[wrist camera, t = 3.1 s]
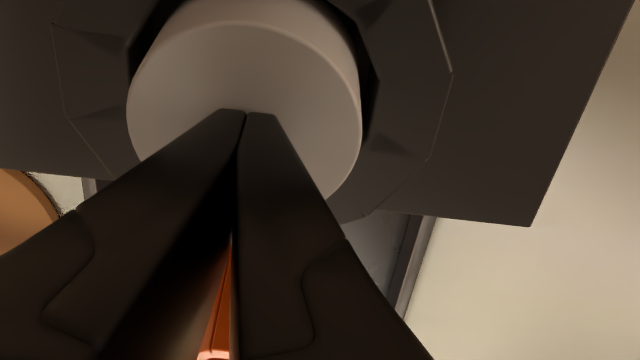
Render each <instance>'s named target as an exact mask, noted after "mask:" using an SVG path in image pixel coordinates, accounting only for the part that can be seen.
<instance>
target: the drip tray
mask: <svg viewBox="0 0 640 360" xmlns="http://www.w3.org/2000/svg"><path fill="white" fill-rule="evenodd" d="M81 179H82V186H83V193H84V199H85V200H87V199H88V198H90V197H91V196H93V195H94V194H96V193H97V192H98V191H100V190H101V189H103V188H104V187H106V186H107V185H109V184H110V183H112V182H113V181H109V180H100V179H91V178H82V177H81ZM436 218H437V217H432V216H423V215H414V214H405V213H396V212H387V211H378V210H374V211H373V212H372V213H371V214H370V215H368V216H365V217H364V218H362V219H359V220H355V221H352V222H349V223H345V224H342V225H340V227H341V229H342V230H343V232H344V234H345V235H346V239H347V240H349V242H350V244H351V245H352V247H353V249H354V251H355V252H356V254H357V256H358V258H359V259H360V261H361V262H362V264H363V265H364V267H365V269H366V270H367V272H368V273H369V275H370V276H371V278H372V279H373V281H374V282H375V284H376V285H377V286H378V288H379V289H380V291H381V292H382V293H383V295H384V296H385V297H386V299H387V300H388V301H389V303H390V304H391V305H392V307H393V308H394V309H395V311H396V312H397V313H398V314H399V316H400V317H401V318H402V319H404V316H405V313H406V310H407V306H408V303H409V300H410V297H411V294H412V291H413V288H414V285H415V282H416V279H417V276H418V273H419V270H420V267H421V264H422V260H423V257H424V254H425V251H426V248H427V245H428V242H429V239H430V236H431V233H432V230H433V227H434V224H435V221H436Z"/></svg>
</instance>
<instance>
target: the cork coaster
mask: <svg viewBox="0 0 640 360" xmlns="http://www.w3.org/2000/svg"><path fill="white" fill-rule="evenodd" d="M57 219H59V217H58V214H57V212H56V210H55V209H54V207H53V205H52V204H51V202H50V200H49V199H48V198H47V197H46V195H45V194H44V193H43V192H42V190H41V189H40V188H39V187H38V186H37V185H36V184H35V183H34V182H33V181H32V180H31V179H30V178H28V177H27V176H26V175H25V174H24V173H23V172H21V171H19V170H10V169H1V168H0V255H2V254H4V253H5V252H7V251H9V250H10V249H12V248H14V247H16V246H17V245H19V244H21V243H22V242H24V241H25V240H27V239H28V238H30V237H31V236H33V235H34V234H36V233H38V232H39V231H41V230H42V229H44V228H45V227H47V226H48V225H50V224H51V223H53V222H54V221H56V220H57Z"/></svg>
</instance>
